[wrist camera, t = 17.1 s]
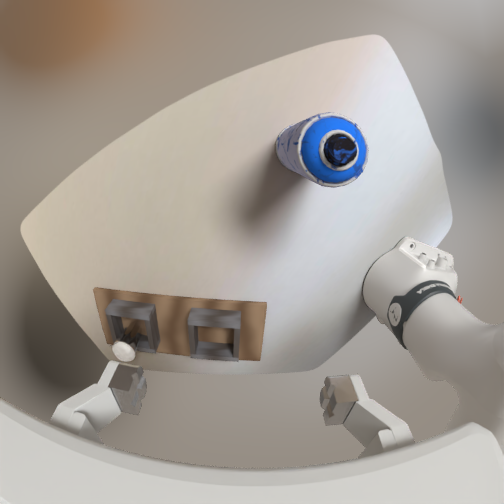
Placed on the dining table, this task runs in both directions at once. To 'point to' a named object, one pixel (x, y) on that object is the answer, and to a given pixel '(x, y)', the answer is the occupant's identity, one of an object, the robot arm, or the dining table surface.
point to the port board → (185, 324)
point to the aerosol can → (324, 149)
